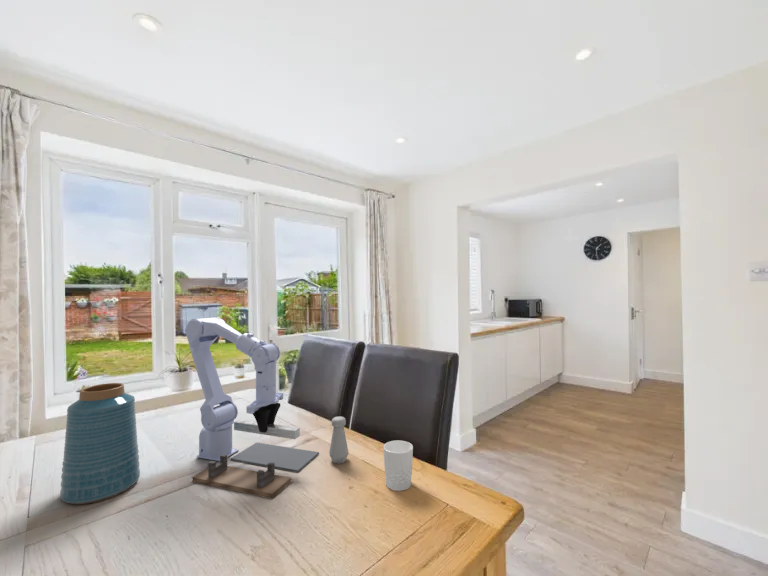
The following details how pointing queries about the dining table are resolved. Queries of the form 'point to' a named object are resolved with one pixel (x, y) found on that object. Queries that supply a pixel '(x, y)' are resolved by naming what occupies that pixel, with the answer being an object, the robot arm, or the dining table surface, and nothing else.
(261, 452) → the mat
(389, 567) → the dining table surface
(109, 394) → the vase
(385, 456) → the white cup
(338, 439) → the salt shaker
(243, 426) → the rail
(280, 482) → the rack
